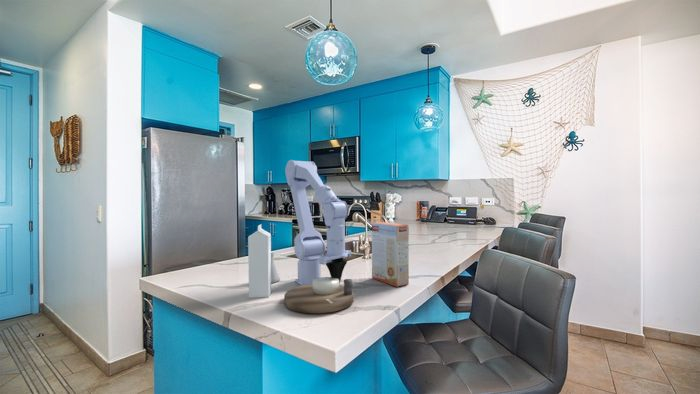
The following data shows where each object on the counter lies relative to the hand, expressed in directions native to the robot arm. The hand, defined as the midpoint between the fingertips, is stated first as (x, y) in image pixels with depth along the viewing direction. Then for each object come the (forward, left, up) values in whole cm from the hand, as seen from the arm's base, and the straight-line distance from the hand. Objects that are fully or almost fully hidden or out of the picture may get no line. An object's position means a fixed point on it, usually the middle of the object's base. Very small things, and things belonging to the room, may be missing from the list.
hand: (336, 282), depth 100 cm
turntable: (+4, -7, -3) cm, 9 cm away
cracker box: (-4, +23, -4) cm, 23 cm away
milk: (-11, -21, -4) cm, 24 cm away
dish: (+3, -5, -1) cm, 5 cm away
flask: (-25, -15, -4) cm, 29 cm away
